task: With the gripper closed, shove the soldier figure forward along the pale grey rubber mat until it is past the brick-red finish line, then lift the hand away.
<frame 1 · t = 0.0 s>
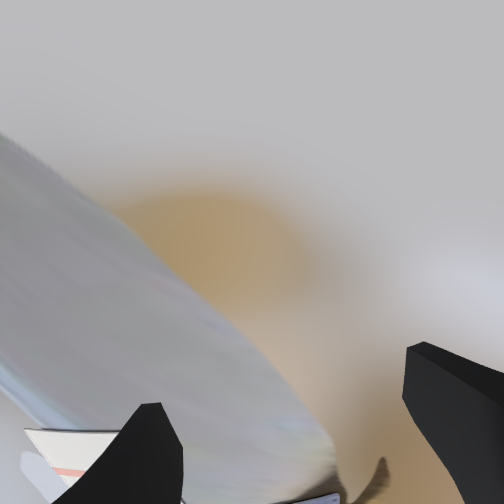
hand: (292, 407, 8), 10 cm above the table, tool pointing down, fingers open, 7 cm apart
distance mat: (122, 496, 23), on the table
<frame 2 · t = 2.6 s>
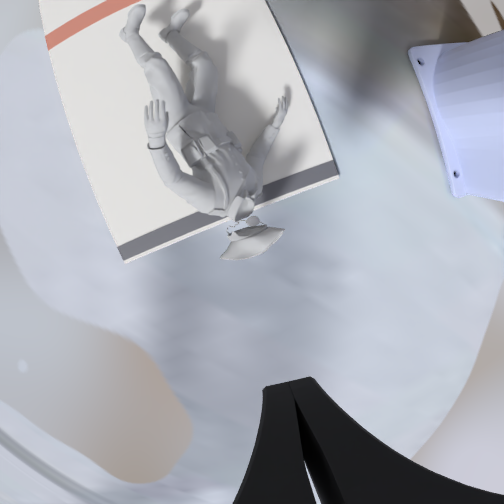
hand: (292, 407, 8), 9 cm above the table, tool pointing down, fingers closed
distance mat: (160, 46, 14), on the table
soldier figure: (202, 123, 15), resting on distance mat
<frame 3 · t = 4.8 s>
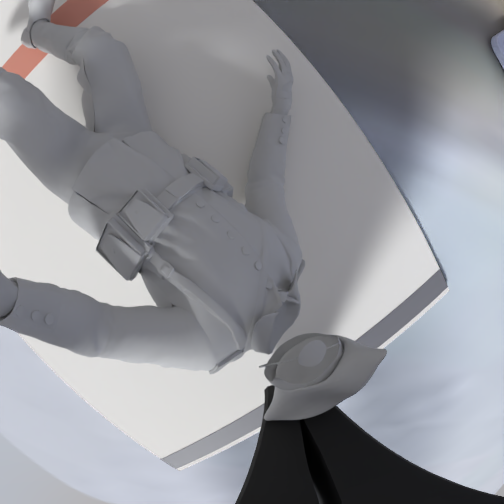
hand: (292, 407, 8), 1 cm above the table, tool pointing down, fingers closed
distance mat: (87, 155, 7), on the table
soldier figure: (142, 155, 8), resting on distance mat, touching gripper
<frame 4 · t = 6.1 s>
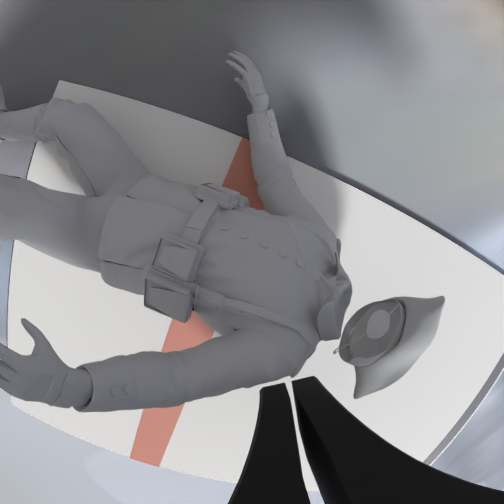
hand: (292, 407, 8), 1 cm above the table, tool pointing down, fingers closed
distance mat: (305, 381, 10), on the table
soldier figure: (149, 198, 8), resting on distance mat, touching gripper
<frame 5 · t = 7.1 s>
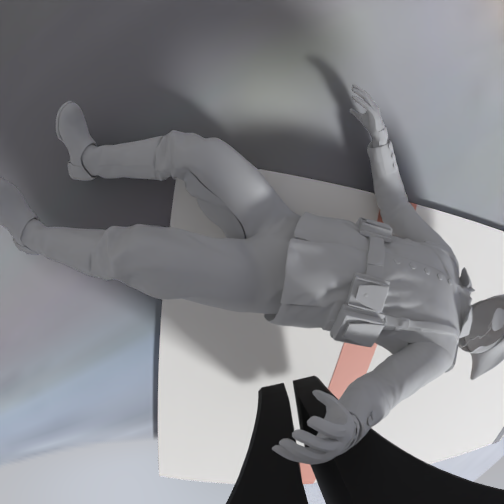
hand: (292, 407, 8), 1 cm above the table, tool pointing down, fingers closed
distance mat: (433, 375, 10), on the table
soldier figure: (276, 229, 8), resting on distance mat, touching gripper
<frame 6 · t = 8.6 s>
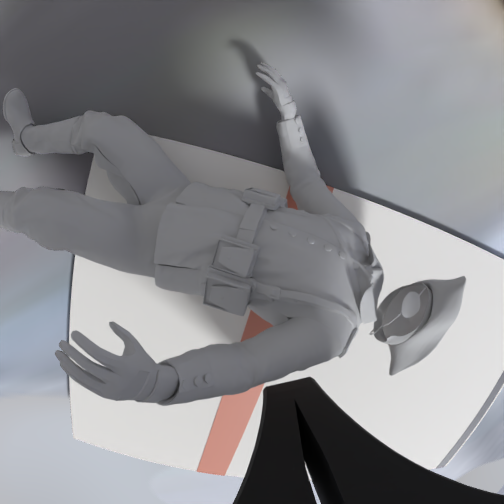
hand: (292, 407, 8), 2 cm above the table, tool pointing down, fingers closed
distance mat: (356, 380, 11), on the table
soldier figure: (186, 204, 9), resting on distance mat
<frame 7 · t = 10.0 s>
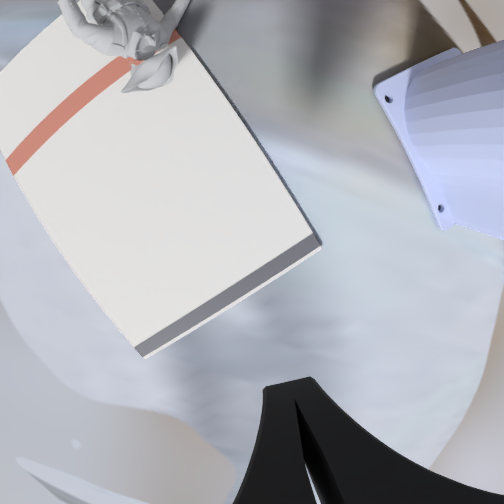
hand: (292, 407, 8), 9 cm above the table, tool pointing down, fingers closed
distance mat: (118, 154, 15), on the table
soldier figure: (124, 11, 13), resting on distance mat
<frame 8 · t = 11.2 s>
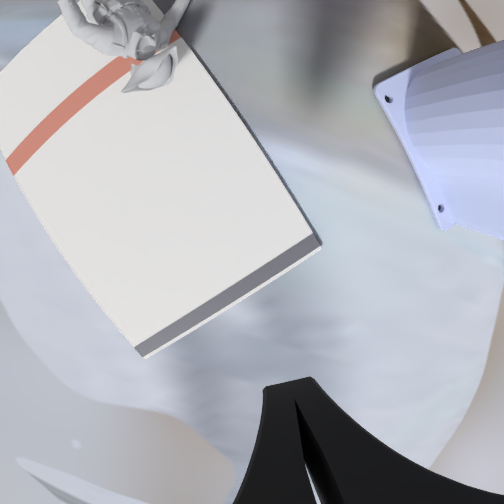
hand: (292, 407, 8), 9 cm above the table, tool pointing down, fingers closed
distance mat: (118, 154, 15), on the table
soldier figure: (124, 11, 13), resting on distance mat
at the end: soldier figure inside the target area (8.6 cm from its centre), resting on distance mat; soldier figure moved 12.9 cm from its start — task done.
